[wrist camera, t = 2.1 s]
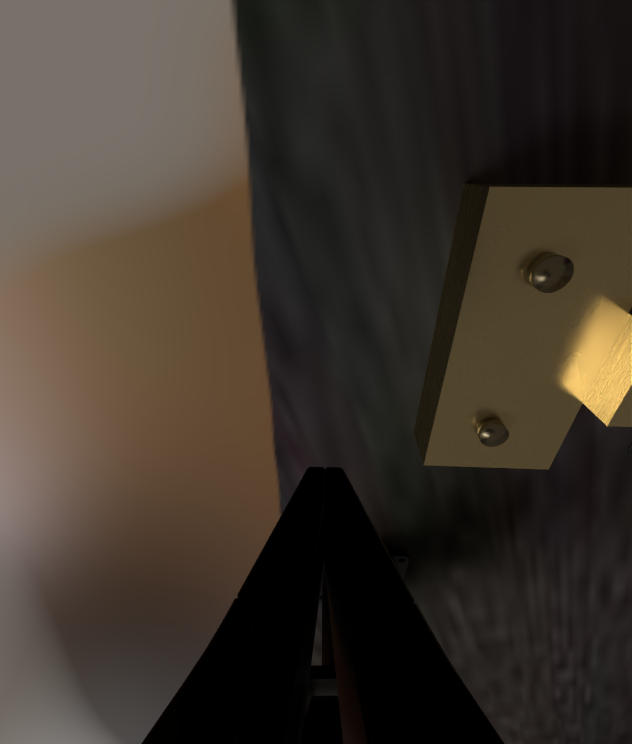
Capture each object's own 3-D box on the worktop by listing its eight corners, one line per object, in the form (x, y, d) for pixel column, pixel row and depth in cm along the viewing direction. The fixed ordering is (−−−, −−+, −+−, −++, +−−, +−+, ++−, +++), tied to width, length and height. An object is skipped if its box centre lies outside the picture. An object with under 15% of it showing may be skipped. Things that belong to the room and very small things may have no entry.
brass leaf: (589, 436, 18) (647, 498, 15) (413, 431, 19) (431, 490, 15) (730, 184, 12) (885, 192, 9) (462, 183, 12) (511, 189, 9)
